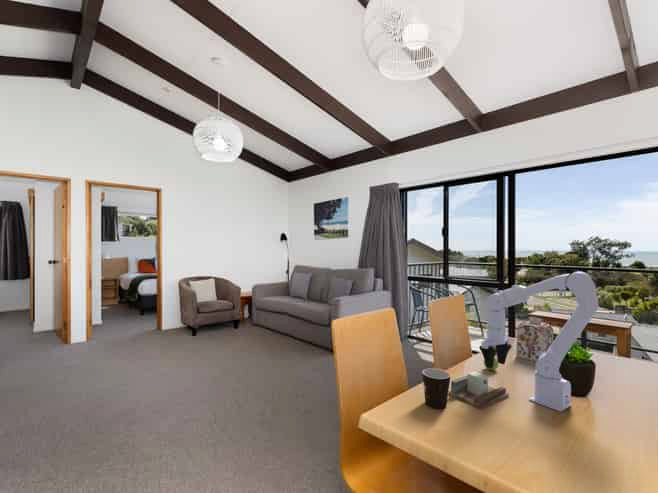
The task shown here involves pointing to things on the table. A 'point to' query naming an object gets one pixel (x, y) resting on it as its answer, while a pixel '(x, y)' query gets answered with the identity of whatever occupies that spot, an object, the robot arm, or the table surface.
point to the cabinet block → (477, 383)
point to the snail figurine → (494, 361)
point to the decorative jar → (533, 339)
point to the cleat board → (478, 401)
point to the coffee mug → (436, 387)
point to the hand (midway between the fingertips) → (495, 365)
